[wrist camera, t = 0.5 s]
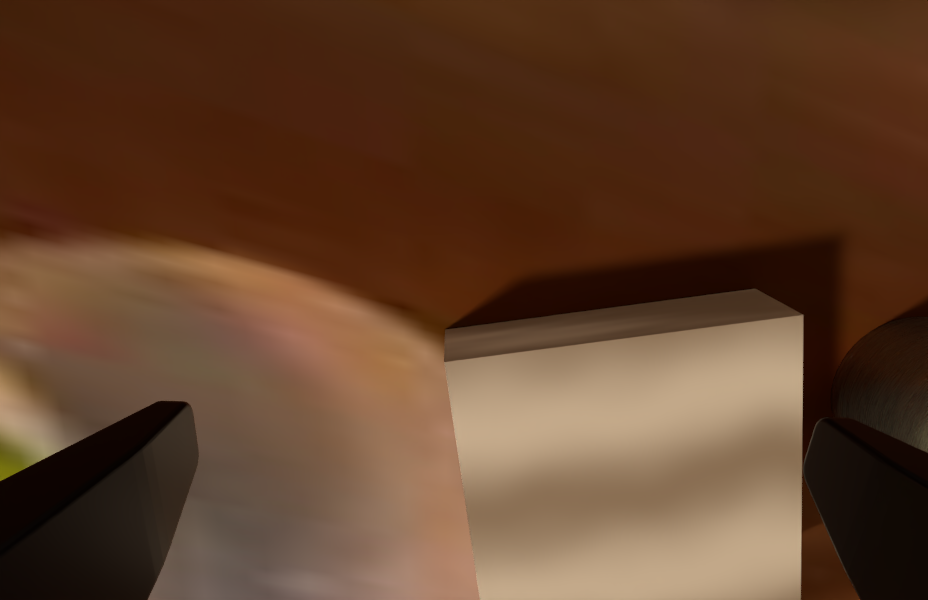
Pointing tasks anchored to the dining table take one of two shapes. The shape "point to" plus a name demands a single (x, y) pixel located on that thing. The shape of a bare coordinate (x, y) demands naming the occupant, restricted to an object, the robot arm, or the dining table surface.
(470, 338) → the base block
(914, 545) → the robot arm
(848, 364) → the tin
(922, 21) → the dining table surface
